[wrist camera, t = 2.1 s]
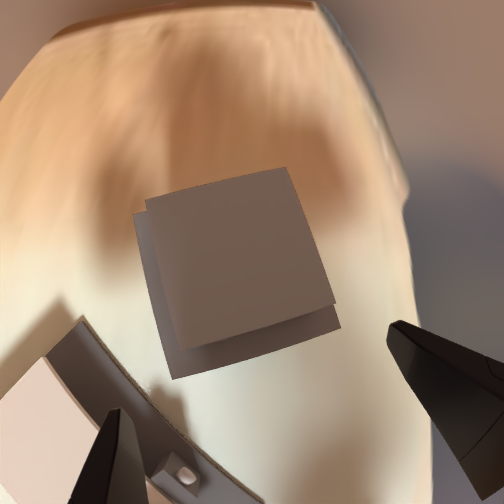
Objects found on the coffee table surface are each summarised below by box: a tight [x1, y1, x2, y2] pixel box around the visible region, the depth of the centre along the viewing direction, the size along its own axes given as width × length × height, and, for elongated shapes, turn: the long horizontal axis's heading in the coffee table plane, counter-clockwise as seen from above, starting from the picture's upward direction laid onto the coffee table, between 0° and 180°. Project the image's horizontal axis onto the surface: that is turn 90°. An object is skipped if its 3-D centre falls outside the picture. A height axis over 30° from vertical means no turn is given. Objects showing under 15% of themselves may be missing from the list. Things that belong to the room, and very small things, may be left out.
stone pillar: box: [133, 167, 341, 380], centre depth 13 cm, size 5×5×13 cm
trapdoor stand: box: [45, 321, 262, 504], centre depth 13 cm, size 17×15×4 cm
